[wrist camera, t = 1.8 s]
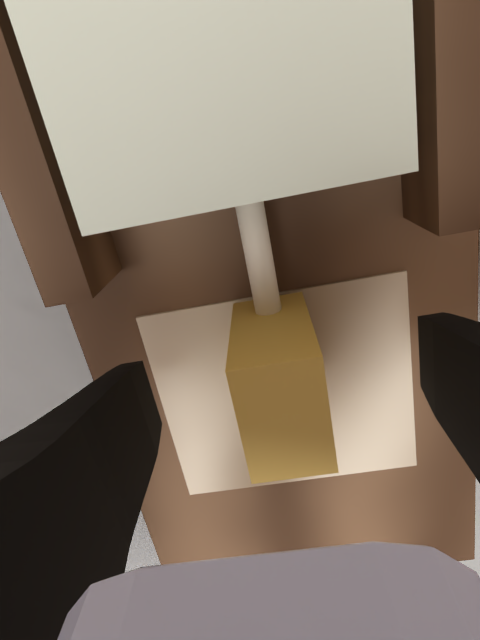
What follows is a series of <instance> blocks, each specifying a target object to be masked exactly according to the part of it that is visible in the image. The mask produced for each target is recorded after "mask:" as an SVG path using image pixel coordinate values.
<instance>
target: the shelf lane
mask: <svg viewBox="0 0 480 640" xmlns="http://www.w3.org/2000/svg"><path fill="white" fill-rule="evenodd" d="M412 4H413V31H414V58H415V86H416V113H417V140H418V167H419V171H416V172H411V173H406V174H401V175H396V176H390V177H385V178H380V179H375V180H370V181H365V182H360V183H355V184H349V185H344V186H339V187H334V188H329V189H324V190H319V191H313V192H308V193H303V194H298V195H293V196H288V197H283V198H277V199H272V200H267V201H264V207H265V213H266V219H267V225H268V231H269V237H270V243H271V249H272V254H273V260H274V266H275V272H276V278H277V284H278V290H279V296H280V295H285V294H291V293H297V292H302V293H303V296H304V299H305V303H306V306H307V309H308V312H309V315H310V318H311V321H312V324H313V327H314V330H315V334H316V337H317V340H318V343H319V346H320V349H321V352H322V355H323V361H324V369H325V376H326V383H327V391H328V398H329V405H330V413H331V420H332V427H333V435H334V442H335V449H336V457H337V464H338V471H339V473H333V474H325V475H317V476H310V477H302V478H295V479H287V480H279V481H272V482H264V483H256V484H251V479H250V475H249V471H248V467H247V462H246V458H245V454H244V450H243V445H242V441H241V437H240V433H239V428H238V424H237V420H236V416H235V411H234V407H233V403H232V398H231V394H230V390H229V386H228V381H227V377H226V373H225V369H226V360H227V352H228V344H229V335H230V327H231V318H232V310H233V303H239V302H245V301H251V300H253V297H252V292H251V286H250V281H249V276H248V271H247V266H246V260H245V255H244V250H243V245H242V240H241V235H240V229H239V224H238V219H237V214H236V209H235V207H231V208H226V209H221V210H216V211H211V212H206V213H200V214H195V215H190V216H185V217H180V218H175V219H170V220H165V221H159V222H154V223H149V224H144V225H139V226H134V227H129V228H123V229H118V230H113V231H108V232H103V233H98V234H93V235H88V236H82V235H81V232H80V229H79V226H78V223H77V220H76V217H75V214H74V211H73V208H72V205H71V202H70V199H69V196H68V193H67V190H66V187H65V184H64V181H63V178H62V175H61V171H60V168H59V165H58V162H57V159H56V156H55V153H54V150H53V147H52V144H51V141H50V138H49V135H48V132H47V129H46V126H45V123H44V120H43V117H42V114H41V111H40V108H39V105H38V102H37V99H36V96H35V93H34V90H33V87H32V84H31V81H30V78H29V75H28V72H27V69H26V66H25V63H24V60H23V57H22V54H21V51H20V48H19V45H18V42H17V39H16V36H15V33H14V30H13V27H12V24H11V21H10V18H9V15H8V12H7V9H6V6H5V3H4V0H0V192H1V194H2V197H3V199H4V202H5V205H6V207H7V210H8V212H9V215H10V217H11V220H12V223H13V225H14V228H15V230H16V233H17V236H18V238H19V241H20V243H21V246H22V248H23V251H24V254H25V256H26V259H27V261H28V264H29V266H30V269H31V272H32V274H33V277H34V279H35V282H36V285H37V287H38V290H39V292H40V295H41V297H42V300H43V303H44V305H45V307H51V306H56V305H62V304H66V307H67V310H68V313H69V315H70V318H71V321H72V323H73V326H74V329H75V332H76V334H77V337H78V340H79V343H80V345H81V348H82V351H83V353H84V356H85V359H86V362H87V364H88V367H89V370H90V372H91V375H92V378H93V381H95V380H96V379H97V378H99V377H100V376H102V375H103V374H105V373H106V372H108V371H109V370H111V369H112V368H114V367H116V366H118V365H120V364H124V363H130V362H137V361H143V364H144V367H145V370H146V373H147V376H148V379H149V383H150V386H151V389H152V392H153V395H154V399H155V402H156V405H157V408H158V411H159V415H160V418H161V421H162V429H161V437H160V443H159V449H158V455H157V459H156V462H155V465H154V469H153V472H152V475H151V479H150V482H149V485H148V488H147V491H146V494H145V498H144V501H143V504H142V507H141V511H142V514H143V517H144V519H145V522H146V525H147V527H148V530H149V533H150V536H151V538H152V541H153V544H154V546H155V549H156V552H157V555H158V557H159V560H160V563H161V565H164V564H173V563H182V562H191V561H200V560H209V559H218V558H227V557H236V556H245V555H254V554H263V553H272V552H281V551H290V550H299V549H309V548H318V547H327V546H336V545H345V544H354V543H363V542H372V541H375V542H388V543H401V544H414V545H425V546H429V547H434V548H436V549H437V550H439V551H441V552H443V553H444V554H446V555H448V556H450V557H451V558H453V559H455V560H457V561H463V560H472V559H474V550H475V476H474V474H473V473H472V471H471V470H470V468H469V467H468V465H467V464H466V462H465V461H464V459H463V458H462V456H461V455H460V454H459V452H458V451H457V449H456V448H455V446H454V445H453V443H452V442H451V440H450V439H449V437H448V436H447V434H446V433H445V431H444V430H443V428H442V427H441V425H440V424H439V422H438V421H437V419H436V418H435V416H434V414H433V412H432V410H431V408H430V406H429V404H428V401H427V399H426V397H425V395H424V393H423V391H422V388H421V386H420V364H419V341H418V317H417V316H422V315H429V314H435V313H441V312H444V313H450V314H454V315H458V316H461V317H465V318H468V319H471V320H474V321H478V254H479V229H480V0H412Z"/></svg>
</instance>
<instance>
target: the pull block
mask: <svg viewBox="0 0 480 640" xmlns="http://www.w3.org/2000/svg"><path fill="white" fill-rule="evenodd" d="M4 3H5V6H6V9H7V12H8V15H9V18H10V21H11V24H12V27H13V30H14V33H15V36H16V39H17V42H18V45H19V48H20V51H21V54H22V57H23V60H24V63H25V66H26V69H27V72H28V75H29V78H30V81H31V84H32V87H33V90H34V93H35V96H36V99H37V102H38V105H39V108H40V111H41V114H42V117H43V120H44V123H45V126H46V129H47V132H48V135H49V138H50V141H51V144H52V147H53V150H54V153H55V156H56V159H57V162H58V165H59V168H60V171H61V175H62V178H63V181H64V184H65V187H66V190H67V193H68V196H69V199H70V202H71V205H72V208H73V211H74V214H75V217H76V220H77V223H78V226H79V229H80V232H81V235H82V236H88V235H93V234H98V233H103V232H108V231H113V230H118V229H123V228H129V227H134V226H139V225H144V224H149V223H154V222H159V221H165V220H170V219H175V218H180V217H185V216H190V215H195V214H200V213H206V212H211V211H216V210H221V209H226V208H231V207H235V209H236V214H237V219H238V224H239V229H240V235H241V240H242V245H243V250H244V255H245V260H246V266H247V271H248V276H249V281H250V286H251V292H252V297H253V300H251V301H245V302H239V303H233V310H232V318H231V327H230V335H229V344H228V352H227V360H226V369H225V373H226V377H227V381H228V386H229V390H230V394H231V398H232V403H233V407H234V411H235V416H236V420H237V424H238V428H239V433H240V437H241V441H242V445H243V450H244V454H245V458H246V462H247V467H248V471H249V475H250V479H251V484H256V483H264V482H272V481H279V480H287V479H295V478H302V477H310V476H317V475H325V474H333V473H339V471H338V464H337V457H336V449H335V442H334V435H333V427H332V420H331V413H330V405H329V398H328V391H327V383H326V376H325V369H324V361H323V355H322V352H321V349H320V346H319V343H318V340H317V337H316V334H315V330H314V327H313V324H312V321H311V318H310V315H309V312H308V309H307V306H306V303H305V299H304V296H303V293H302V292H297V293H291V294H285V295H280V296H279V290H278V284H277V278H276V272H275V266H274V260H273V254H272V249H271V243H270V237H269V231H268V225H267V219H266V213H265V207H264V201H267V200H272V199H277V198H283V197H288V196H293V195H298V194H303V193H308V192H313V191H319V190H324V189H329V188H334V187H339V186H344V185H349V184H355V183H360V182H365V181H370V180H375V179H380V178H385V177H390V176H396V175H401V174H406V173H411V172H416V171H419V167H418V140H417V113H416V86H415V58H414V31H413V4H412V0H4Z"/></svg>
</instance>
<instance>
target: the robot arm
mask: <svg viewBox="0 0 480 640" xmlns="http://www.w3.org/2000/svg"><path fill="white" fill-rule="evenodd" d="M417 317H418V341H419V364H420V386H421V388H422V391H423V393H424V395H425V397H426V399H427V401H428V404H429V406H430V408H431V410H432V412H433V414H434V416H435V418H436V419H437V421H438V422H439V424H440V425H441V427H442V428H443V430H444V431H445V433H446V434H447V436H448V437H449V439H450V440H451V442H452V443H453V445H454V446H455V448H456V449H457V451H458V452H459V454H460V455H461V456H462V458H463V459H464V461H465V462H466V464H467V465H468V467H469V468H470V470H471V471H472V473H473V474H474V476H475V477H476V478H477V480H478V481H479V483H480V322H478V321H474V320H471V319H468V318H465V317H461V316H458V315H454V314H450V313H444V312H441V313H435V314H429V315H422V316H417ZM161 429H162V421H161V418H160V415H159V411H158V408H157V405H156V402H155V399H154V395H153V392H152V389H151V386H150V383H149V379H148V376H147V373H146V370H145V367H144V364H143V361H137V362H130V363H124V364H120V365H118V366H116V367H114V368H112V369H111V370H109V371H108V372H106V373H105V374H103V375H102V376H100V377H99V378H97V379H96V380H95V381H93V382H92V383H90V384H89V385H88V386H86V387H85V388H83V389H82V390H81V391H79V392H78V393H76V394H75V395H74V396H72V397H71V398H69V399H68V400H67V401H65V402H64V403H62V404H61V405H59V406H58V407H56V408H55V409H53V410H52V411H50V412H49V413H47V414H46V415H44V416H43V417H41V418H40V419H38V420H37V421H35V422H33V423H32V424H30V425H29V426H27V427H25V428H24V429H22V430H20V431H19V432H17V433H15V434H13V435H12V436H10V437H8V438H6V439H4V440H3V441H1V442H0V640H480V578H479V576H478V574H477V572H476V571H474V570H472V569H470V568H469V567H467V566H465V565H464V564H462V563H460V562H458V561H457V560H455V559H453V558H451V557H450V556H448V555H446V554H444V553H443V552H441V551H439V550H437V549H436V548H434V547H429V546H425V545H414V544H401V543H388V542H375V541H372V542H363V543H354V544H345V545H336V546H327V547H318V548H309V549H299V550H290V551H281V552H272V553H263V554H254V555H245V556H236V557H227V558H218V559H209V560H200V561H191V562H182V563H173V564H164V565H155V566H146V567H141V568H138V569H135V570H132V571H129V572H126V573H124V572H125V567H126V562H127V557H128V552H129V547H130V544H131V540H132V536H133V532H134V529H135V526H136V523H137V520H138V516H139V513H140V510H141V507H142V504H143V501H144V498H145V494H146V491H147V488H148V485H149V482H150V479H151V475H152V472H153V469H154V465H155V462H156V459H157V455H158V449H159V443H160V437H161Z"/></svg>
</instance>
